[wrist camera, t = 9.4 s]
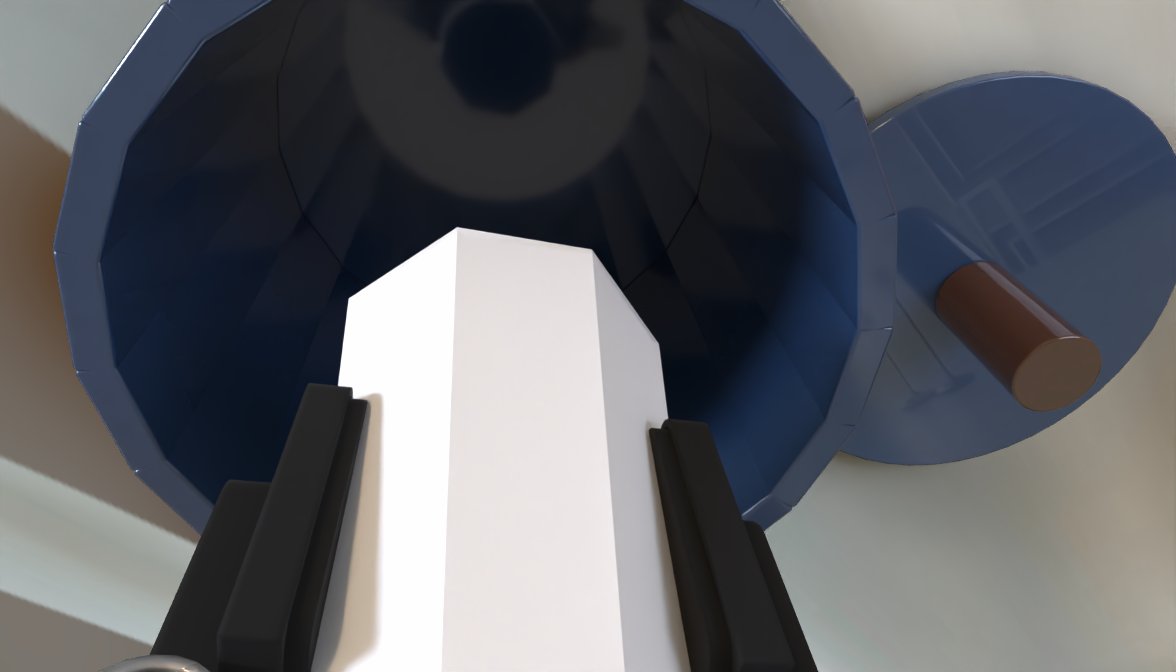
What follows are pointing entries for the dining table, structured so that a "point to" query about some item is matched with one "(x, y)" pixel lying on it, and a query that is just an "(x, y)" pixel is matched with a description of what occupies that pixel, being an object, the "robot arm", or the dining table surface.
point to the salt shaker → (502, 471)
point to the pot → (472, 212)
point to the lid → (1014, 260)
